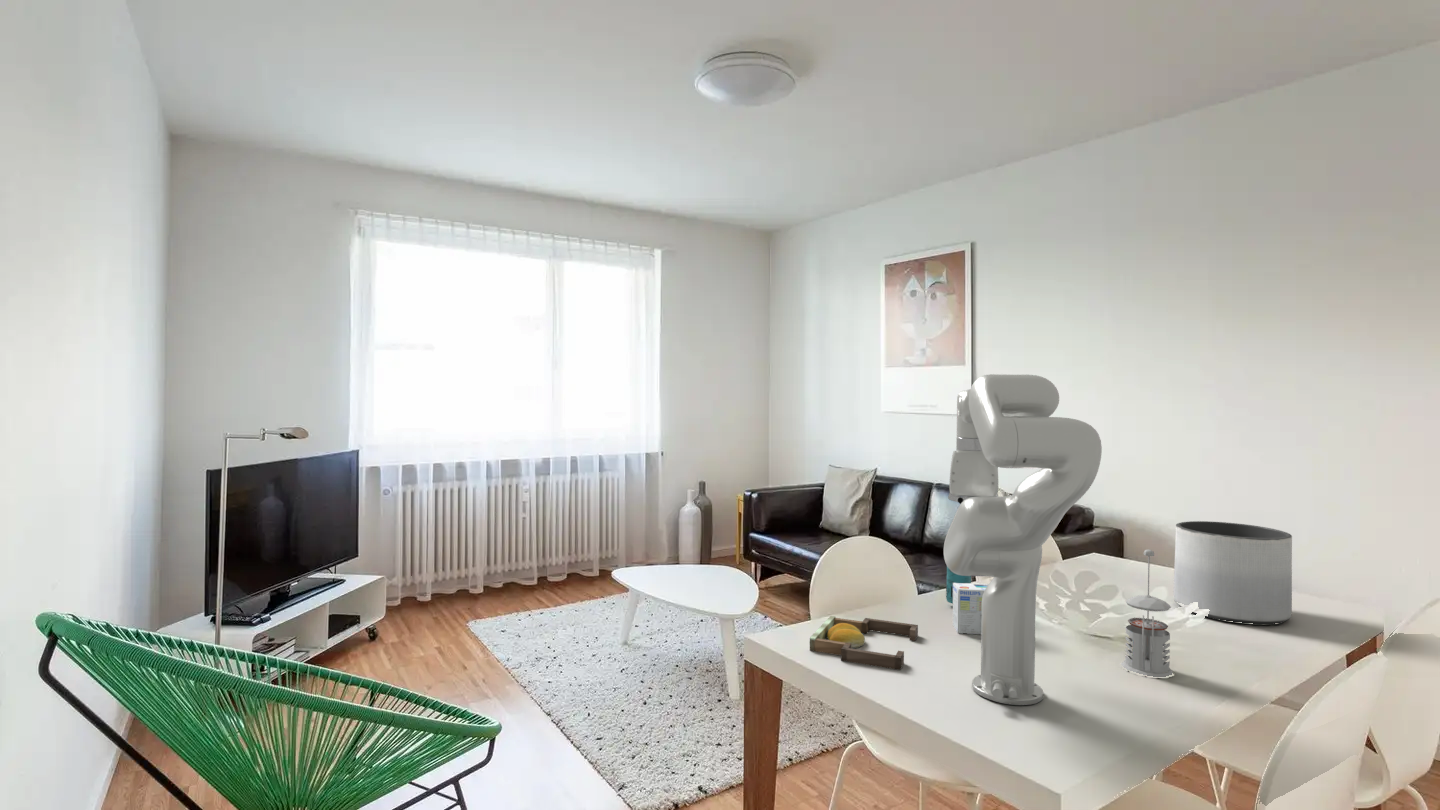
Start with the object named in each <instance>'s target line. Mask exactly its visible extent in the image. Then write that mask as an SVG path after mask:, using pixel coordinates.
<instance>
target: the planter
mask: <svg viewBox="0 0 1440 810" xmlns="http://www.w3.org/2000/svg"><path fill="white" fill-rule="evenodd" d="M1174 538H1175V542H1174V545H1175V546H1174V568H1173V569H1174V570H1173V572H1174V573H1173V574H1174V575H1173V600H1174V602H1175V603H1176V602H1178V603H1182V604H1184V605H1189V604H1190V603H1193V602H1198V607H1199V609H1209V610H1210V611H1209V614H1208V618H1207V619H1211V618H1214V619H1213V620H1216V619H1220V620H1219V621H1221V620H1226V621H1233V622H1242V623H1253V624H1273V625H1276V624H1275V623H1279V624H1281V622H1282V623H1284V621H1285V622H1287V621H1289V620H1290V619H1291V618H1292V613H1293V612H1292V611H1293V603H1292V602H1293V584H1292V582H1293V579H1292V578H1293V577H1292V574H1293V571H1292V570H1293V569H1292V567H1293V564H1292V563H1293V536H1292V534H1291V533H1288V532H1286V531H1283V530H1280V529H1275V528H1271V527H1266V526H1261V525H1260V526H1259V525H1253V524H1252V525H1251V524H1246V523H1245V524H1244V523H1237V522H1236V523H1235V522H1225V521H1223V522H1222V521H1205V520H1204V521H1203V520H1202V521H1201V520H1194V521H1182V522H1178V523H1176V524H1175V537H1174ZM1226 621H1225V622H1226Z"/></svg>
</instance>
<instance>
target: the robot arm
mask: <svg viewBox="0 0 1440 810" xmlns="http://www.w3.org/2000/svg"><path fill="white" fill-rule="evenodd" d="M956 399H957V400H956V441H955V442H956V447H955V449H956V450H953V452H952V456H951V461H950V471H949V486H948V487H949V493H948V496H947V499H948V500H949V501H953V502H956V503H959V506H958V507H957V510H956V512H955V515H954V517H953V519H952V522H951V523H950V526H949V528H948V530H947V532H946V536H945V539H944V544H943V559H944V562H945V564H946V567H948V568H949V569H950V570H951V571H952V572H953V573H955V574H957V575H962V576H972V577H991V578H992V579H991V580H990V582H989V583H988V584H989V585H988V586H987V588H986V589H985V591H984V594H983V597H982V621H981V634H980V674H978V675H976V676H974V677H973V678H972V681H971V688H972V689H973V691H974V692H975V693H976V694H978V695H979V696H981V697H983V698H984V699H987V700H990V701H993V702H996V703H1000V704H1005V705H1013V706H1029V705H1035V704H1038V703H1040V702H1042V700H1043V699H1044V691H1043V688H1042V687H1041V686H1040V685H1039V684H1038V683H1036V682H1035V679H1036V678H1035V671H1036V669H1035V666H1036V663H1035V662H1036V612H1037V609H1036V608H1037V607H1036V606H1037V605H1036V604H1037V601H1036V600H1037V588H1038V580H1039V574H1040V568H1041V565H1042V559H1043V545H1044V544H1045V543H1046V541H1047V540H1048V539H1049V538H1050V537H1051V535H1052V534H1053V532H1054V530H1055V529H1056V528H1057V527H1058V525H1059V523H1060V522H1061V520H1062V519H1063V518H1064V516H1065V514H1066V513H1067V512H1068V511H1069V510H1070V509H1071V507H1073V506H1074V505H1075V504H1076V503H1077V502H1078V501H1080V499H1081V498H1083V496H1084V495H1086V493H1087V492H1088V491H1089V489H1091V486H1092V485H1093V483H1094V481H1095V479H1096V477H1097V474H1098V472H1099V469H1100V464H1101V459H1102V450H1103V449H1102V448H1103V447H1102V446H1103V445H1102V439H1101V437H1100V435H1099V433H1098V431H1097V429H1096V428H1094V427H1093V426H1092V425H1090V424H1089V423H1087V422H1086V421H1082V420H1079V419H1074V418H1070V417H1060V416H1059V417H1058V416H1052V415H1053V414H1054V412H1056V411H1057V409H1058V406H1059V404H1060V394H1059V391H1058V388H1057V386H1055V384H1054V383H1053V382H1052V381H1050V380H1049V379H1048V378H1046V377H1045V376H1044V377H1043V376H1040V375H1036V374H1035V375H1034V374H997V373H996V374H994V373H993V374H984V375H981V376H979V377H978V378H976V379H975V381H973V384H972V385H971V387H970V389H966V390H962V391H960V392H958V394H957V396H956ZM999 468H1001V469H1027V470H1028V469H1032V470H1033V469H1036V470H1037V471H1035V472H1033V473H1031V474H1029V475H1028V476H1026V477H1025V478H1024V479H1022V481H1020V482H1019V483H1018V485H1017V486H1016V487H1015V490H1014V492H1013V493H1012V494H1011V495H1006V496H1005V495H1003V496H999Z"/></svg>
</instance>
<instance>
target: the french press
mask: <svg viewBox="0 0 1440 810" xmlns="http://www.w3.org/2000/svg"><path fill="white" fill-rule="evenodd" d="M1143 555H1144V556H1147V562H1148V563H1147V594H1146V595H1145V594H1144V595H1143V594H1139V595H1134V596H1131V597H1129V598H1127V599H1126V600H1125V603H1126V604H1127V606H1129V607H1131V608H1134V609H1138V610H1141V611H1142V610H1143V611H1147V616H1146V617H1147V618H1145V615H1144V614H1143V615H1142V617H1130V618H1129V619H1128V620H1127V622H1128V623H1129V625H1126V626H1125V634H1126V636H1125V640H1126V642H1125V646H1126V647H1125V649H1124V651H1125V652H1126V653H1127V654H1126V653H1125V655H1124V656H1125V659H1124V660H1123V661H1122V662H1120V664H1121V665H1122V666H1123V667H1124V668H1126V669H1127V670H1130V671H1133V672H1136V673H1139V674H1143V675H1147V676H1153V677H1166V676H1169V675H1172V673H1173V672H1174V671H1173V670H1172V669H1171V668H1170V660H1169V659H1171V658H1170V655H1168V654H1169V653H1170V652H1171V650H1170V649H1167V648H1169V647H1171V643H1170V642H1169V641H1170V640H1171V633H1170V632H1169V631H1168V630H1167V629H1168V627H1169V626H1168V625H1167V624H1166V623H1165V622H1163V621H1162V620H1161V621H1160V620H1158V619H1157V620H1156V619H1155V618H1154V617H1155V616H1151V618H1149V615H1150V614H1149V612H1166V611H1169V610H1170V609H1171V608H1172V606H1171V605H1170V604H1169V603H1167V601H1165V600H1163V599H1160V598H1159V597H1156V596H1153V595H1150V565H1151V564H1150V562H1151V560H1150V559H1151V558H1150V557H1154V556H1155V552H1154V551H1153V550H1152V549H1144V551H1143ZM1127 642H1128V643H1127ZM1167 642H1169V643H1167ZM1168 660H1169V661H1168ZM1172 671H1173V672H1172Z"/></svg>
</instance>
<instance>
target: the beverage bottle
mask: <svg viewBox="0 0 1440 810" xmlns="http://www.w3.org/2000/svg"><path fill="white" fill-rule="evenodd" d="M945 569H946V586H945V599H946V602H948V603H950V604H952V605H953V583H973V582H972V581H973V580H972V577H973V576H962V575H957V574H955V573H953V572H952V571H951V570H950V569H949V568H948V567H947V566H945Z"/></svg>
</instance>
